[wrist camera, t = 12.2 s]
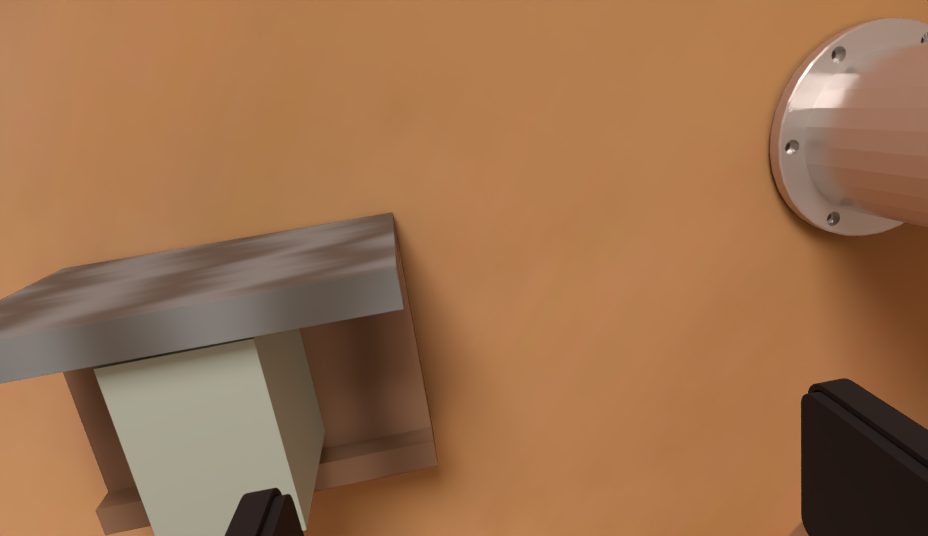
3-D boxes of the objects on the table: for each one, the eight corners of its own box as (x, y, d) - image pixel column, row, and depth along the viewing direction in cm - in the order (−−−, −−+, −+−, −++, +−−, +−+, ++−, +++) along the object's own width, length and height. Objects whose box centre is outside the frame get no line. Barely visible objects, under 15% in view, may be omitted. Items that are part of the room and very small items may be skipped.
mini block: (286, 280, 30) (253, 338, 23) (326, 435, 33) (308, 535, 25) (168, 301, 30) (92, 369, 22) (218, 458, 32) (166, 566, 25)
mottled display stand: (392, 212, 33) (395, 268, 21) (432, 423, 37) (452, 567, 25) (62, 268, 31) (-124, 361, 20) (139, 483, 35) (21, 663, 24)
